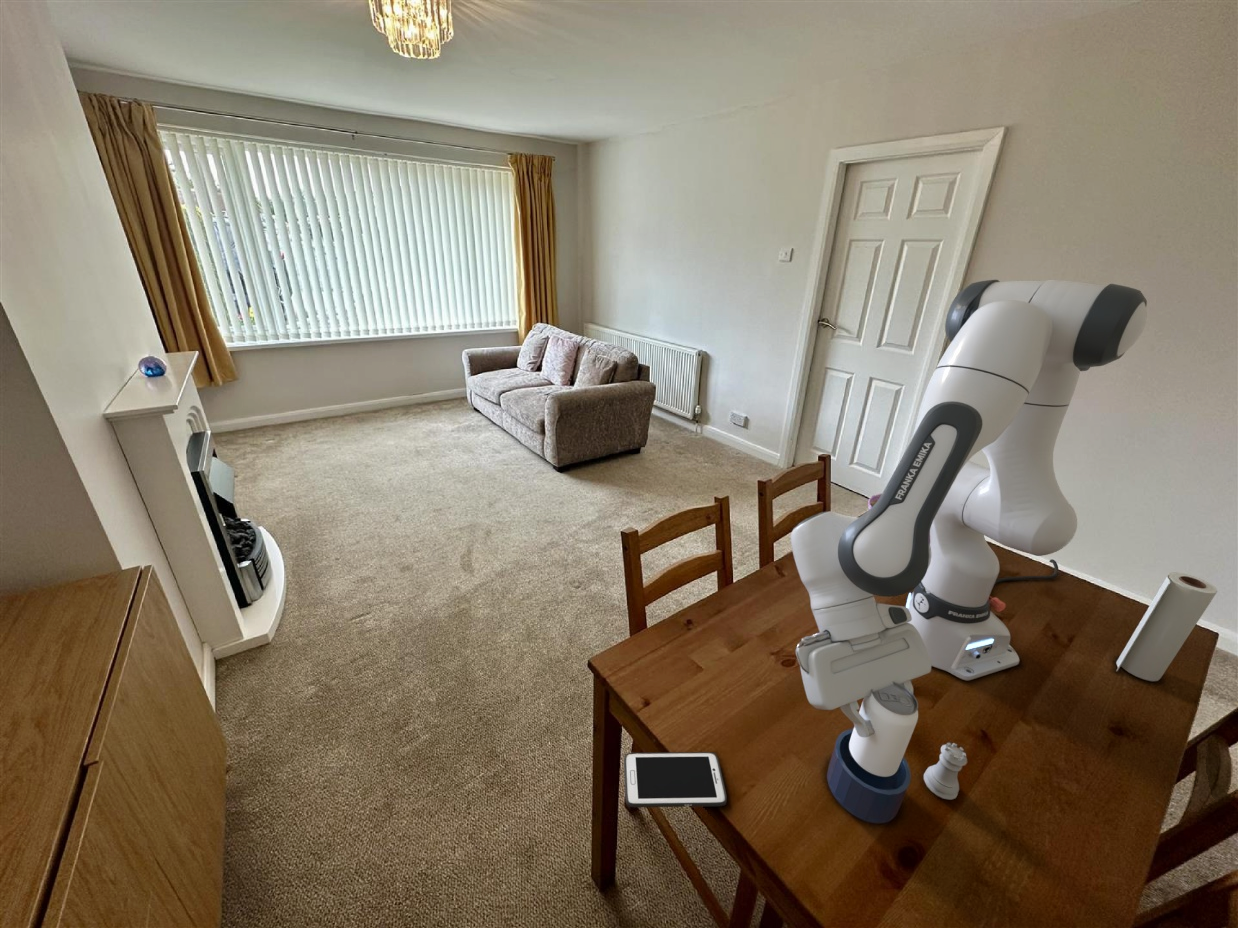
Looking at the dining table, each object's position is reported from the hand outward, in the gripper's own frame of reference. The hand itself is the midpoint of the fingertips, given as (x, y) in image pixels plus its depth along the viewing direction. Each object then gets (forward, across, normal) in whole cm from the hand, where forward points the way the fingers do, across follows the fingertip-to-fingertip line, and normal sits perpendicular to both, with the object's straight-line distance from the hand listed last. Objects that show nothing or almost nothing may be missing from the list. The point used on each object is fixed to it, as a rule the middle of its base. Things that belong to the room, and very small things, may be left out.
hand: (888, 726), depth 66 cm
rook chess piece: (+12, +12, +8) cm, 19 cm away
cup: (+10, 0, +10) cm, 14 cm away
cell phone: (+2, -26, +18) cm, 32 cm away
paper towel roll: (+10, +70, +10) cm, 71 cm away
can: (+5, 0, +5) cm, 7 cm away
